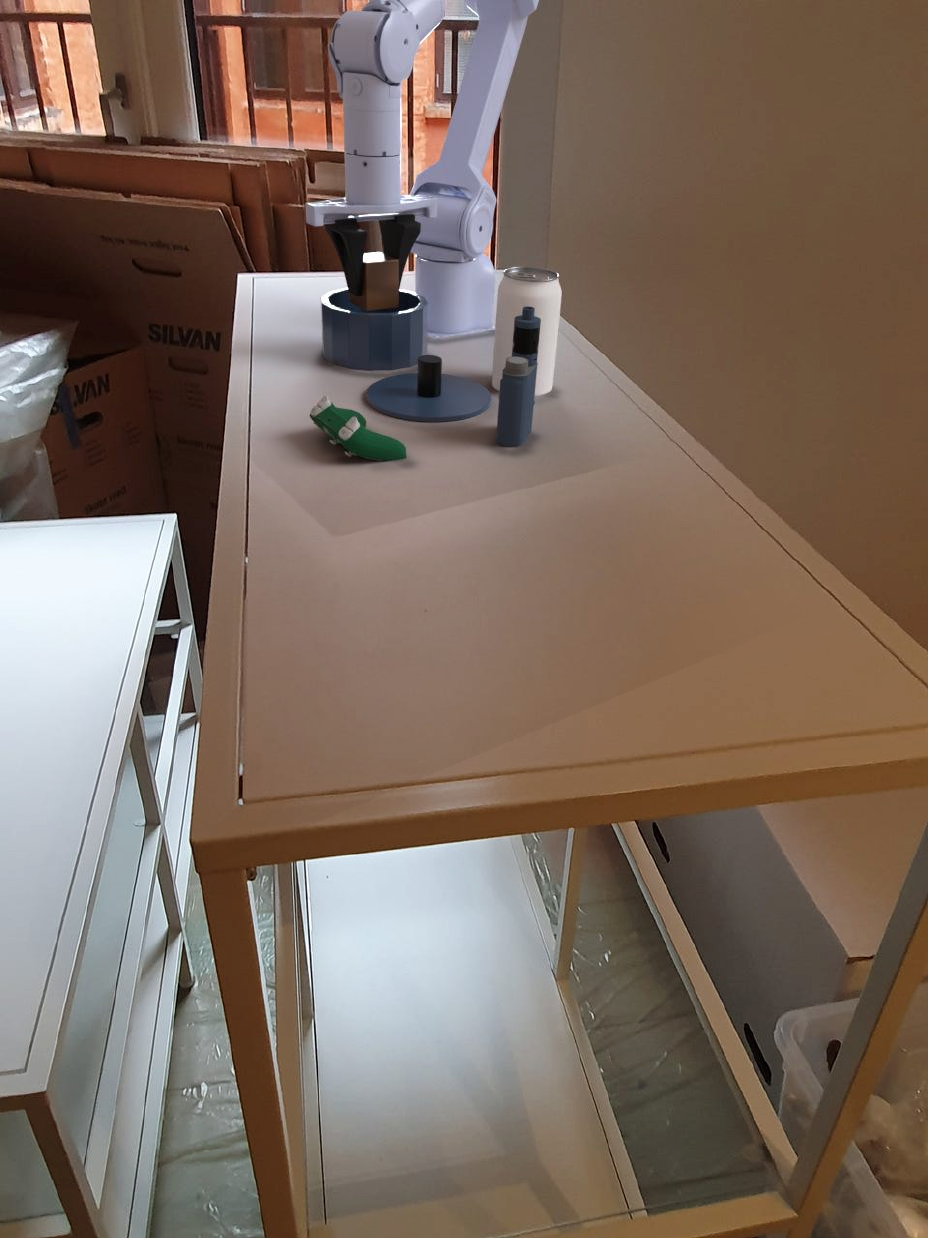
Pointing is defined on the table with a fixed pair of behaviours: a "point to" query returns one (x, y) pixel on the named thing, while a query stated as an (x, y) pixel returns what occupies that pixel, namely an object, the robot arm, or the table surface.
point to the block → (378, 283)
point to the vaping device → (519, 382)
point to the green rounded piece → (355, 433)
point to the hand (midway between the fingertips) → (374, 291)
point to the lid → (428, 394)
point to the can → (545, 297)
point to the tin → (374, 332)
